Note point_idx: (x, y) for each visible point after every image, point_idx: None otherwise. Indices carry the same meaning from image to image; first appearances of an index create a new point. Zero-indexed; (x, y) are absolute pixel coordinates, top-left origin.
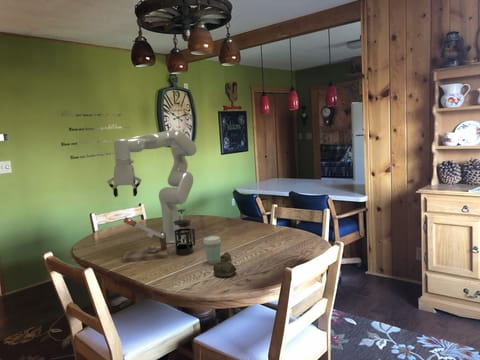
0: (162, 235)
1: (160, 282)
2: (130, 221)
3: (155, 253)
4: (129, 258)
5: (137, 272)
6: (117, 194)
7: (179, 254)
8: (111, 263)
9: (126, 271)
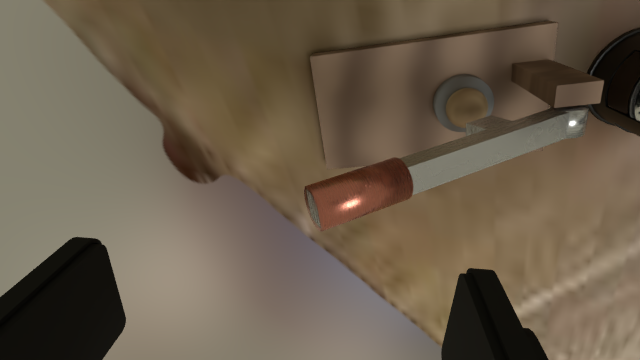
0: (569, 135)
1: None
2: (367, 213)
3: None
4: (356, 165)
5: (411, 269)
6: (88, 279)
7: (603, 120)
8: (279, 158)
9: (368, 252)
